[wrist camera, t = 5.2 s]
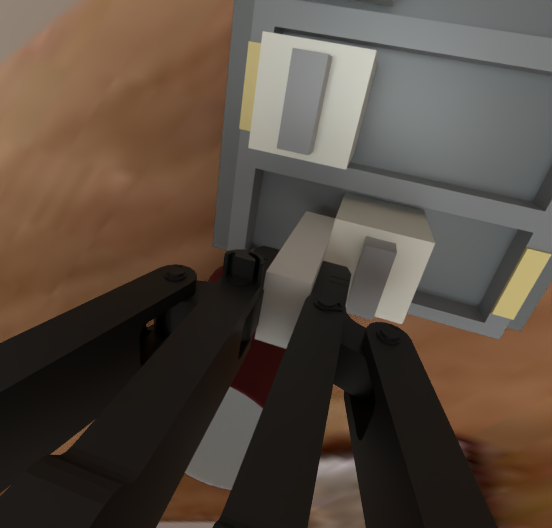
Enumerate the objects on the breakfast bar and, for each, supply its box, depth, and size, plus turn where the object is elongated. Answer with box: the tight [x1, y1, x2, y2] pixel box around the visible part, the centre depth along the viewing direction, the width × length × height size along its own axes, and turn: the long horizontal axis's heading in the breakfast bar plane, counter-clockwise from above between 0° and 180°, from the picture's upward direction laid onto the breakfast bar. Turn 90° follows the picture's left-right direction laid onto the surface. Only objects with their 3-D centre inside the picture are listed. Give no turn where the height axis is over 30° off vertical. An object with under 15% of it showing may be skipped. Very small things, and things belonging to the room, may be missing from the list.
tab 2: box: [325, 192, 435, 324], centre depth 17 cm, size 4×4×6 cm
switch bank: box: [213, 0, 552, 339], centre depth 17 cm, size 18×18×4 cm
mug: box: [184, 266, 286, 491], centre depth 21 cm, size 11×8×10 cm
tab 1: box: [248, 31, 378, 170], centre depth 15 cm, size 4×4×6 cm
